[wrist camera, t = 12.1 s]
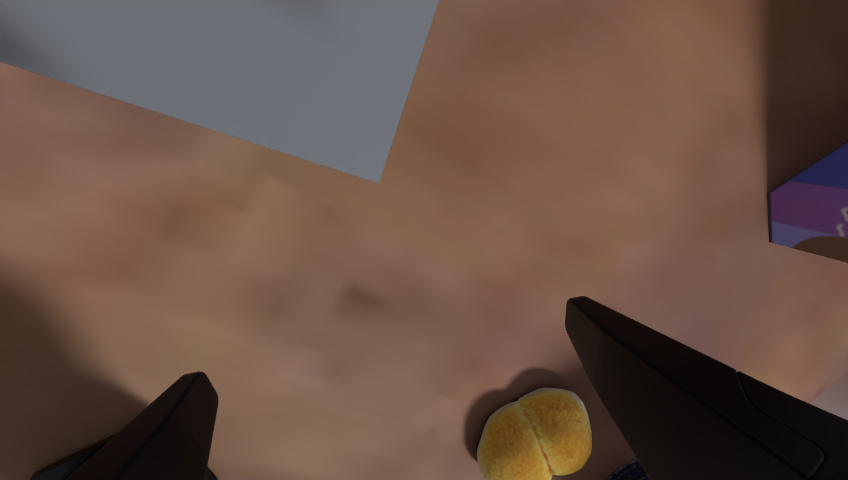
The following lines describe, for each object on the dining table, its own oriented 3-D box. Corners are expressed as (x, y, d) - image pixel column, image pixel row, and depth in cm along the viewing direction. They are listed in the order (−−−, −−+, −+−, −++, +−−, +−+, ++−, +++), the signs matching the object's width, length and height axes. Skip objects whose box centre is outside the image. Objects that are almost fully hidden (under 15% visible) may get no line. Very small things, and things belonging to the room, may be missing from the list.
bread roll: (459, 422, 27) (484, 469, 24) (562, 365, 29) (600, 401, 25) (488, 491, 30) (513, 542, 27) (579, 437, 32) (615, 478, 28)
